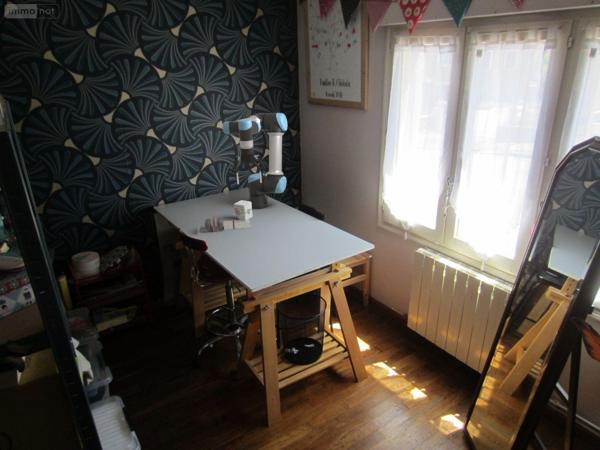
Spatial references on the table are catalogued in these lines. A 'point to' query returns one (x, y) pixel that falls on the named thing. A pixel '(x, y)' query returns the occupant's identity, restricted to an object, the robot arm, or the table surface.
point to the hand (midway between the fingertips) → (249, 183)
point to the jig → (208, 224)
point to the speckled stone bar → (236, 224)
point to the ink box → (243, 210)
